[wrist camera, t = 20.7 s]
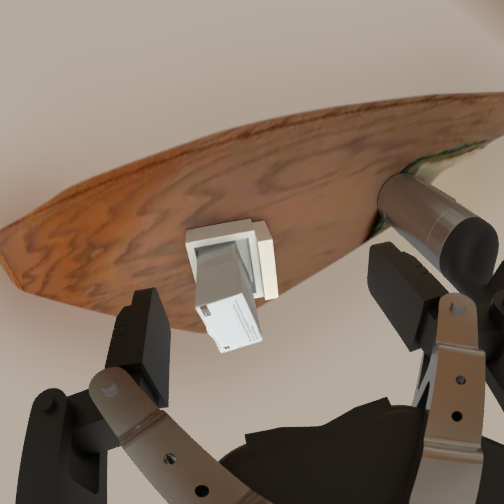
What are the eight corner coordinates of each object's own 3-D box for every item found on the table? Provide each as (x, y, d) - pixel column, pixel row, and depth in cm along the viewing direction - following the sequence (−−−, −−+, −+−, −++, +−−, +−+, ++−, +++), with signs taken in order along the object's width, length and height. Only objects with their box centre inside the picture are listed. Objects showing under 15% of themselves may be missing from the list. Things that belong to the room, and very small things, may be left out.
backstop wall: (264, 220, 48) (272, 239, 43) (270, 275, 53) (278, 297, 48) (251, 222, 48) (257, 241, 43) (258, 277, 53) (265, 300, 48)
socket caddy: (250, 218, 48) (254, 230, 44) (259, 282, 54) (263, 296, 50) (186, 230, 47) (185, 243, 44) (202, 292, 53) (202, 308, 50)
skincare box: (250, 275, 51) (267, 342, 39) (214, 288, 52) (221, 357, 39) (232, 231, 47) (245, 292, 34) (193, 245, 47) (193, 310, 35)
